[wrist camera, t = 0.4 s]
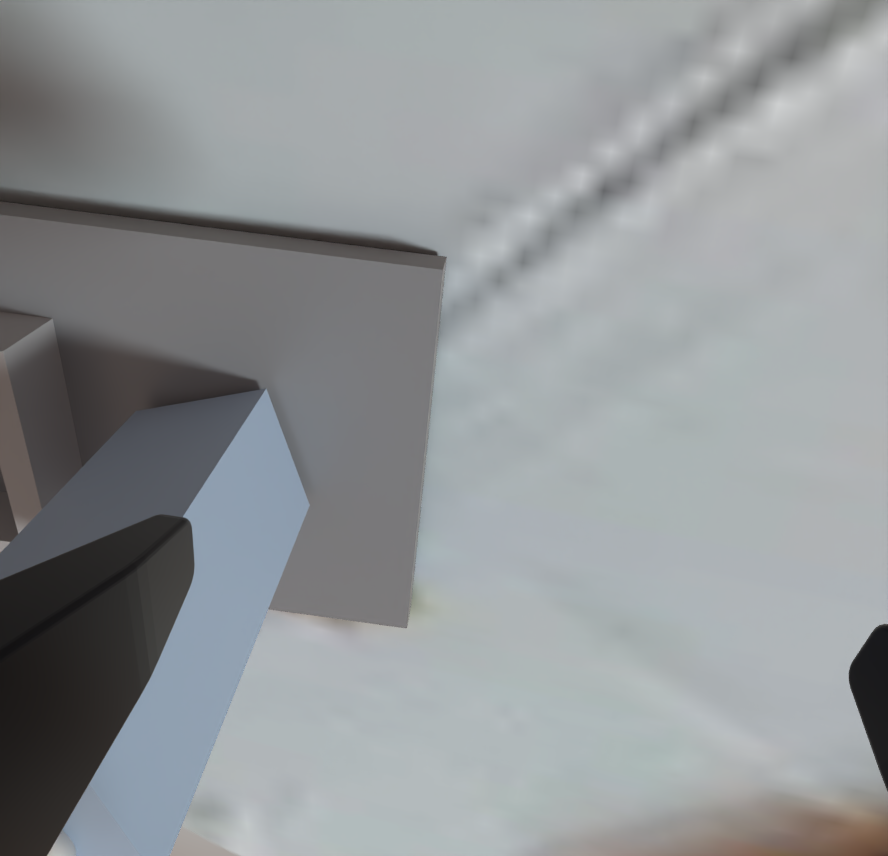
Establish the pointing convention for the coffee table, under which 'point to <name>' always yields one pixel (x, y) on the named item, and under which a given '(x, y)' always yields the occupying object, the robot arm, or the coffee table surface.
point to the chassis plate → (229, 375)
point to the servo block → (205, 607)
